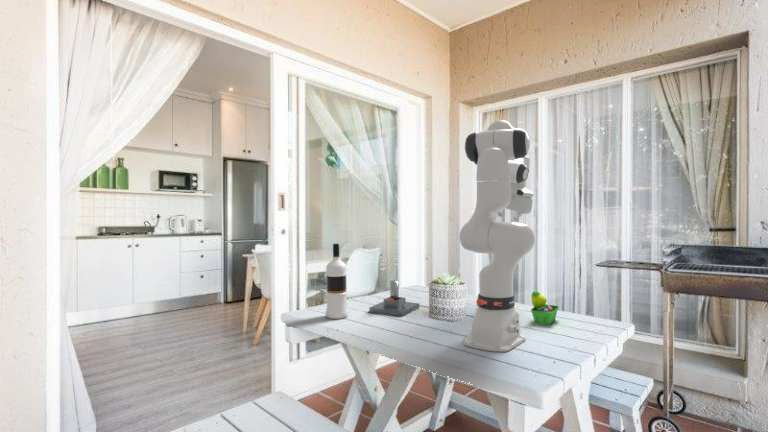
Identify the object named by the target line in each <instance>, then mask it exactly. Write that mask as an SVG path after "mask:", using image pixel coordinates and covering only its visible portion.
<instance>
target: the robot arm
mask: <svg viewBox="0 0 768 432" xmlns="http://www.w3.org/2000/svg"><path fill="white" fill-rule="evenodd" d="M464 142H465V143H464V152H465V156H466V157H467V158H468V159H467V160H469V161H470V162H473V163H474V165H476V172H475V173H476V174H475V175H476V176H475V177H476V204H475V208H474V211H473V214H472V216H471V217H470V219H469V220H468V222H466V223H465V224H464V225H463V226H462V227H461V228H460V232H459V241H460V244H461V246H462V248H463V249H464V250H467V251H470V252H473V253H477V254H488V255H489V254H491V255H493V256H494V257H493V260H492V263H490V264H487V265H486V266H484V267H482V268H481V270H480V271H479V273H478V274H479V275H478V276H479V277H478V279H479V281H478V283H479V285H478V289H479V290H478V291H479V293H478V295H477V299H476V301H475V302H476V306H477V307H476V308H475V312H474V315H473V319H472V323H471V328H470V329H469V330H468V332H467V335H466V338H465V339H464V342H463V343H464V346H466V347H469V348H472V349H478V350H484V351H491V352H508V351H510V350H512V349H513V348H516V347H518V345H520V344H521V343H523V342H525V341H526V336H525V335H523V334H521V322H520V321H521V319H520V313H519V312H518V311H517V310H516V308H515V302H516V299H515V294H514V278H515V271H516V268H517V265H518V264H519V262H520V261H521V260H522V259H523V258H524V256H526V255H527V254H529V253H530V252H531V251H532V249H533V247H534V245H535V242H536V241H535V240H536V239H535V238H536V237H535V233H534V231H533V229H532V228H531V226H530V225H529V224H525V223H520V222H519V220H520V219H521V218H522V216H523V214H524V215H529V214H530V213H531V212H532V208H533V203H534V201H533V197H534V192H532V191H531V190H530V189H528V188H527V187H526V180H527V179H528V177H529V172H530V164H531V163H530V162H531V159H530V157H529V156H528V152H529V149H530V145H531V141H530V138H529V135H528V133H527V131H526V130H524V129H523V128H515V127H513V126H512V125H511V123H510V122H509V121H506V120H504V119H498V120H494V121H493V122H491V123H490V124H489V126H488V127H487V129H486V130H483V131H480V132H479V131H478V132H477V131H475V132H472V133H470V134H468V135H467V136H466V138H465V141H464ZM505 209H506V210H509V211H513V212H517V213H516V214H517V215H516V216H515V217H514V218H513V221H497V217H499V218H503V214H504V213H503V211H504V210H505Z"/></svg>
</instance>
